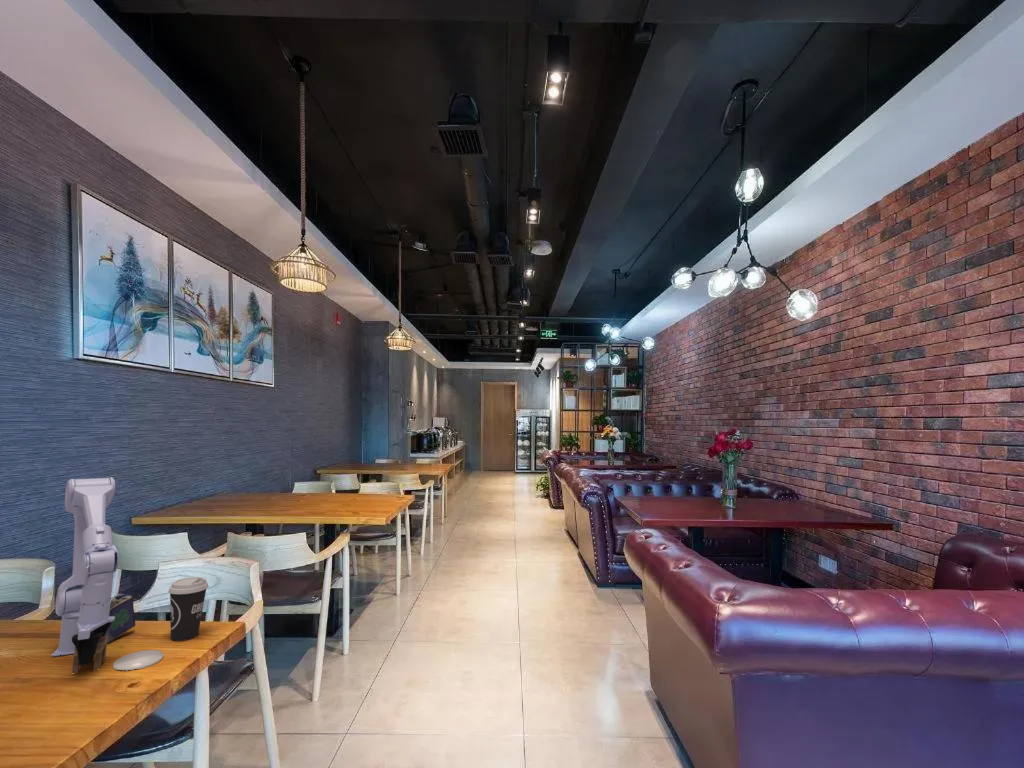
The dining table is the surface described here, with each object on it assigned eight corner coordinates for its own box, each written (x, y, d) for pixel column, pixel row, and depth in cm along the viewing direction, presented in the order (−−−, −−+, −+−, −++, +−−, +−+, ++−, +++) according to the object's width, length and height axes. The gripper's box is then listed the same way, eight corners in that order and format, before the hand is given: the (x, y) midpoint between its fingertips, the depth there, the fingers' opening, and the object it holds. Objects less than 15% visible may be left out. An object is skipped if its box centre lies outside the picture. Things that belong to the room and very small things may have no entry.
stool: (78, 665, 119) (81, 639, 119) (104, 661, 121) (107, 635, 122) (71, 674, 114) (74, 647, 115) (98, 670, 117) (101, 643, 117)
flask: (105, 645, 130) (100, 608, 129) (96, 644, 131) (91, 607, 129) (138, 624, 139) (134, 589, 137) (130, 623, 140) (125, 588, 138)
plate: (119, 656, 124) (119, 654, 124) (166, 649, 128) (166, 647, 128) (107, 674, 115) (107, 671, 115) (159, 666, 119) (159, 663, 119)
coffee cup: (184, 645, 131) (189, 587, 132) (154, 641, 133) (160, 584, 134) (212, 631, 140) (217, 577, 142) (184, 627, 142) (189, 574, 144)
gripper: (107, 608, 115) (101, 669, 113) (123, 590, 128) (118, 644, 126) (69, 612, 112) (62, 675, 110) (89, 593, 124) (83, 649, 123)
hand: (89, 659), depth 118 cm, fingers closed on stool, 5 cm apart
